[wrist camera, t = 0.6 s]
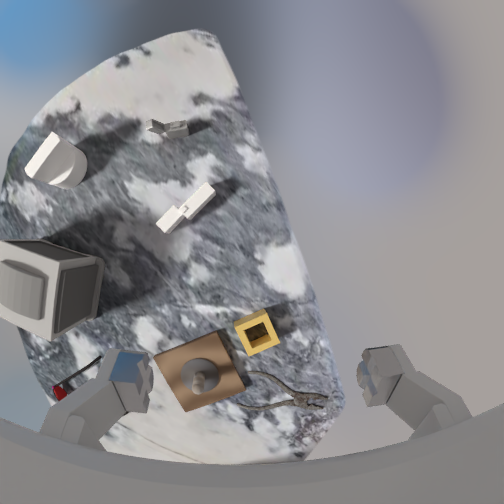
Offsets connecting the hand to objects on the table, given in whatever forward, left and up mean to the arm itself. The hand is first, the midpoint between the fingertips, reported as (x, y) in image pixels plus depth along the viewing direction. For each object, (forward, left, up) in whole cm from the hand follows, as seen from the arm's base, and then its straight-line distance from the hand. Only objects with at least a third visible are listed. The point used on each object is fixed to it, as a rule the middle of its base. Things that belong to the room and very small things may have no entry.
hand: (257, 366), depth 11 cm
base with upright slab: (+32, +23, -48) cm, 62 cm away
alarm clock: (+11, +33, -48) cm, 59 cm away
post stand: (-18, +14, -47) cm, 53 cm away
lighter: (+28, 0, -48) cm, 55 cm away
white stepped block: (+13, +3, -48) cm, 50 cm away
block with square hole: (-14, 0, -47) cm, 49 cm away
